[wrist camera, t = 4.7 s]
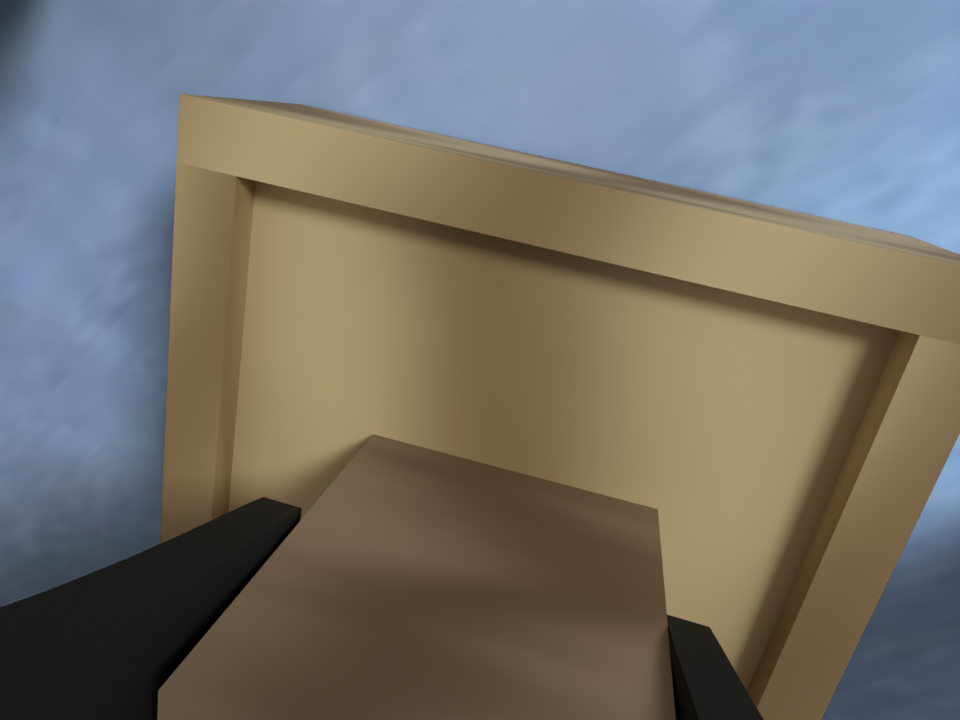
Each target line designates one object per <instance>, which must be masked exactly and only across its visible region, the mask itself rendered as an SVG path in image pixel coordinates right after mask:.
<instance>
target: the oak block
mask: <svg viewBox="0 0 960 720" xmlns="http://www.w3.org/2000/svg"><path fill="white" fill-rule="evenodd" d="M373 434H374V435H378V436H382V437H386V438H389V439H393V440H397V441H401V442H405V443H408V444H412V445H416V446H420V447H424V448H427V449H431V450H435V451H439V452H443V453H446V454H450V455H454V456H458V457H462V458H465V459H469V460H473V461H477V462H480V463H484V464H488V465H492V466H496V467H499V468H503V469H507V470H511V471H515V472H518V473H522V474H526V475H530V476H534V477H537V478H541V479H545V480H549V481H553V482H556V483H560V484H564V485H568V486H572V487H575V488H579V489H583V490H587V491H591V492H594V493H598V494H602V495H606V496H610V497H613V498H617V499H621V500H625V501H629V502H632V503H636V504H640V505H644V506H648V507H651V508H655V509H658V518H659V529H660V541H661V553H662V564H663V576H664V588H665V599H666V611H667V615H670V616H674V617H677V618H681V619H684V620H688V621H691V622H694V623H698V624H701V625H705V626H708V627H710V628H711V630H712V632H713V633H714V635H715V637H716V639H717V640H718V642H719V644H720V645H721V647H722V649H723V651H724V652H725V654H726V656H727V658H728V659H729V661H730V663H731V665H732V666H733V668H734V670H735V671H736V673H737V675H738V677H739V678H740V680H741V682H742V684H743V685H744V687H745V689H746V690H747V692H748V694H749V696H750V697H751V699H752V701H753V702H754V704H755V706H756V708H757V709H758V711H759V713H760V714H761V716H762V718H763V719H764V720H821V719H822V717H823V715H824V713H825V711H826V709H827V707H828V705H829V703H830V701H831V699H832V697H833V695H834V693H835V690H836V688H837V686H838V684H839V682H840V680H841V678H842V676H843V674H844V672H845V670H846V668H847V666H848V664H849V661H850V659H851V657H852V655H853V653H854V651H855V649H856V647H857V645H858V643H859V641H860V639H861V637H862V635H863V632H864V630H865V628H866V626H867V624H868V622H869V620H870V618H871V616H872V614H873V612H874V610H875V608H876V606H877V604H878V601H879V599H880V597H881V595H882V593H883V591H884V589H885V587H886V585H887V583H888V581H889V579H890V577H891V575H892V572H893V570H894V568H895V566H896V564H897V562H898V560H899V558H900V556H901V554H902V552H903V550H904V548H905V546H906V543H907V541H908V539H909V537H910V535H911V533H912V531H913V529H914V527H915V525H916V523H917V521H918V519H919V517H920V514H921V512H922V510H923V508H924V506H925V504H926V502H927V500H928V498H929V496H930V494H931V492H932V490H933V488H934V486H935V483H936V481H937V479H938V477H939V475H940V473H941V471H942V469H943V467H944V465H945V463H946V461H947V459H948V457H949V454H950V452H951V450H952V448H953V446H954V444H955V442H956V440H957V438H958V436H959V434H960V254H957V253H954V252H952V251H949V250H946V249H943V248H941V247H938V246H935V245H932V244H930V243H927V242H924V241H921V240H919V239H916V238H913V237H910V236H906V235H901V234H896V233H892V232H887V231H883V230H878V229H873V228H869V227H864V226H859V225H855V224H850V223H846V222H841V221H836V220H832V219H827V218H823V217H818V216H813V215H809V214H804V213H799V212H795V211H790V210H786V209H781V208H776V207H772V206H767V205H762V204H758V203H753V202H749V201H744V200H739V199H735V198H730V197H726V196H721V195H716V194H712V193H707V192H702V191H698V190H693V189H689V188H684V187H679V186H675V185H670V184H666V183H661V182H656V181H652V180H647V179H642V178H638V177H633V176H629V175H624V174H619V173H615V172H610V171H606V170H601V169H596V168H592V167H587V166H582V165H578V164H573V163H569V162H564V161H559V160H555V159H550V158H545V157H541V156H536V155H532V154H527V153H522V152H518V151H513V150H509V149H504V148H499V147H495V146H490V145H485V144H481V143H476V142H472V141H467V140H462V139H458V138H453V137H449V136H444V135H439V134H435V133H430V132H425V131H421V130H416V129H412V128H407V127H402V126H398V125H393V124H388V123H384V122H379V121H375V120H370V119H365V118H361V117H356V116H352V115H347V114H342V113H338V112H333V111H328V110H324V109H319V108H315V107H310V106H305V105H301V104H291V103H279V102H267V101H256V100H244V99H233V98H221V97H210V96H198V95H186V94H180V95H179V118H178V141H177V164H176V187H175V210H174V233H173V257H172V280H171V303H170V326H169V349H168V372H167V395H166V419H165V442H164V465H163V488H162V511H161V534H160V544H161V543H163V542H165V541H168V540H170V539H172V538H174V537H176V536H179V535H181V534H183V533H185V532H187V531H190V530H192V529H194V528H196V527H198V526H200V525H202V524H205V523H207V522H209V521H211V520H213V519H215V518H217V517H219V516H221V515H224V514H226V513H228V512H230V511H232V510H234V509H237V508H239V507H241V506H243V505H245V504H248V503H250V502H252V501H255V500H257V499H259V498H262V497H265V498H269V499H272V500H276V501H279V502H282V503H286V504H289V505H293V506H296V507H300V508H302V511H301V519H300V521H301V520H302V518H303V517H304V516H305V515H306V514H307V512H308V511H309V510H310V509H311V508H312V506H313V505H314V504H315V503H316V502H317V500H318V499H319V498H320V497H321V496H322V494H323V493H324V492H325V491H326V490H327V488H328V487H329V486H330V485H331V484H332V482H333V481H334V480H335V479H336V478H337V477H338V475H339V474H340V473H341V472H342V471H343V469H344V468H345V467H346V466H347V465H348V463H349V462H350V461H351V460H352V459H353V457H354V456H355V455H356V454H357V453H358V451H359V450H360V449H361V448H362V447H363V445H364V444H365V443H366V442H367V441H368V439H369V438H370V437H371V436H372V435H373Z"/></svg>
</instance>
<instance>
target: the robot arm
mask: <svg viewBox="0 0 960 720" xmlns="http://www.w3.org/2000/svg"><path fill="white" fill-rule="evenodd" d="M301 511H302V508H300V507H296V506H293V505H289V504H286V503H282V502H279V501H276V500H272V499H269V498H265V497H262V498H259V499H257V500H255V501H252V502H250V503H248V504H245V505H243V506H241V507H239V508H237V509H234V510H232V511H230V512H228V513H226V514H224V515H221V516H219V517H217V518H215V519H213V520H211V521H209V522H207V523H205V524H202V525H200V526H198V527H196V528H194V529H192V530H190V531H187V532H185V533H183V534H181V535H179V536H176V537H174V538H172V539H170V540H168V541H165V542H163V543H161V544H159V545H157V546H154V547H152V548H150V549H148V550H146V551H143V552H141V553H139V554H137V555H134V556H132V557H130V558H127V559H125V560H122V561H120V562H117V563H115V564H113V565H110V566H108V567H105V568H103V569H100V570H98V571H95V572H93V573H90V574H88V575H86V576H83V577H81V578H78V579H76V580H73V581H71V582H68V583H66V584H63V585H61V586H58V587H56V588H54V589H51V590H48V591H45V592H43V593H40V594H37V595H35V596H32V597H29V598H26V599H23V600H20V601H18V602H15V603H12V604H9V605H6V606H3V607H0V720H157V712H158V690H159V689H160V688H161V687H162V686H163V684H164V683H165V682H166V681H167V680H168V678H169V677H170V676H171V675H172V674H173V672H174V671H175V670H176V669H177V668H178V666H179V665H180V664H181V663H182V662H183V660H184V659H185V658H186V657H187V656H188V654H189V653H190V652H191V651H192V650H193V649H194V647H195V646H196V645H197V644H198V643H199V641H200V640H201V639H202V638H203V637H204V635H205V634H206V633H207V632H208V631H209V629H210V628H211V627H212V626H213V625H214V623H215V622H216V621H217V620H218V619H219V617H220V616H221V615H222V614H223V613H224V611H225V610H226V609H227V608H228V607H229V606H230V604H231V603H232V602H233V601H234V600H235V598H236V597H237V596H238V595H239V594H240V592H241V591H242V590H243V589H244V588H245V586H246V585H247V584H248V583H249V582H250V580H251V579H252V578H253V577H254V576H255V574H256V573H257V572H258V571H259V570H260V568H261V567H262V566H263V565H264V564H265V563H266V561H267V560H268V559H269V558H270V557H271V555H272V554H273V553H274V552H275V551H276V549H277V548H278V547H279V546H280V545H281V543H282V542H283V541H284V540H285V539H286V537H287V536H288V535H289V534H290V533H291V531H292V530H293V529H294V528H295V527H296V525H297V524H298V523H299V522H300V519H301ZM667 623H668V634H669V646H670V658H671V669H672V681H673V693H674V705H675V716H676V720H764V719H763V718H762V716H761V714H760V713H759V711H758V709H757V708H756V706H755V704H754V702H753V701H752V699H751V697H750V696H749V694H748V692H747V690H746V689H745V687H744V685H743V684H742V682H741V680H740V678H739V677H738V675H737V673H736V671H735V670H734V668H733V666H732V665H731V663H730V661H729V659H728V658H727V656H726V654H725V652H724V651H723V649H722V647H721V645H720V644H719V642H718V640H717V639H716V637H715V635H714V633H713V632H712V630H711V628H710V627H708V626H705V625H701V624H698V623H694V622H691V621H688V620H684V619H681V618H677V617H674V616H670V615H667Z"/></svg>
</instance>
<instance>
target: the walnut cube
mask: <svg viewBox="0 0 960 720" xmlns="http://www.w3.org/2000/svg"><path fill="white" fill-rule="evenodd" d="M157 720H676V716H675V705H674V693H673V681H672V669H671V658H670V646H669V634H668V623H667V611H666V599H665V588H664V576H663V564H662V553H661V541H660V529H659V518H658V509H655V508H651V507H648V506H644V505H640V504H636V503H632V502H629V501H625V500H621V499H617V498H613V497H610V496H606V495H602V494H598V493H594V492H591V491H587V490H583V489H579V488H575V487H572V486H568V485H564V484H560V483H556V482H553V481H549V480H545V479H541V478H537V477H534V476H530V475H526V474H522V473H518V472H515V471H511V470H507V469H503V468H499V467H496V466H492V465H488V464H484V463H480V462H477V461H473V460H469V459H465V458H462V457H458V456H454V455H450V454H446V453H443V452H439V451H435V450H431V449H427V448H424V447H420V446H416V445H412V444H408V443H405V442H401V441H397V440H393V439H389V438H386V437H382V436H378V435H374V434H373V435H372V436H371V437H370V438H369V439H368V441H367V442H366V443H365V444H364V445H363V447H362V448H361V449H360V450H359V451H358V453H357V454H356V455H355V456H354V457H353V459H352V460H351V461H350V462H349V463H348V465H347V466H346V467H345V468H344V469H343V471H342V472H341V473H340V474H339V475H338V477H337V478H336V479H335V480H334V481H333V482H332V484H331V485H330V486H329V487H328V488H327V490H326V491H325V492H324V493H323V494H322V496H321V497H320V498H319V499H318V500H317V502H316V503H315V504H314V505H313V506H312V508H311V509H310V510H309V511H308V512H307V514H306V515H305V516H304V517H303V518H302V520H301V521H300V522H299V523H298V524H297V525H296V527H295V528H294V529H293V530H292V531H291V533H290V534H289V535H288V536H287V537H286V539H285V540H284V541H283V542H282V543H281V545H280V546H279V547H278V548H277V549H276V551H275V552H274V553H273V554H272V555H271V557H270V558H269V559H268V560H267V561H266V563H265V564H264V565H263V566H262V567H261V568H260V570H259V571H258V572H257V573H256V574H255V576H254V577H253V578H252V579H251V580H250V582H249V583H248V584H247V585H246V586H245V588H244V589H243V590H242V591H241V592H240V594H239V595H238V596H237V597H236V598H235V600H234V601H233V602H232V603H231V604H230V606H229V607H228V608H227V609H226V610H225V611H224V613H223V614H222V615H221V616H220V617H219V619H218V620H217V621H216V622H215V623H214V625H213V626H212V627H211V628H210V629H209V631H208V632H207V633H206V634H205V635H204V637H203V638H202V639H201V640H200V641H199V643H198V644H197V645H196V646H195V647H194V649H193V650H192V651H191V652H190V653H189V654H188V656H187V657H186V658H185V659H184V660H183V662H182V663H181V664H180V665H179V666H178V668H177V669H176V670H175V671H174V672H173V674H172V675H171V676H170V677H169V678H168V680H167V681H166V682H165V683H164V684H163V686H162V687H161V688H160V689H159V690H158V712H157Z"/></svg>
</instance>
